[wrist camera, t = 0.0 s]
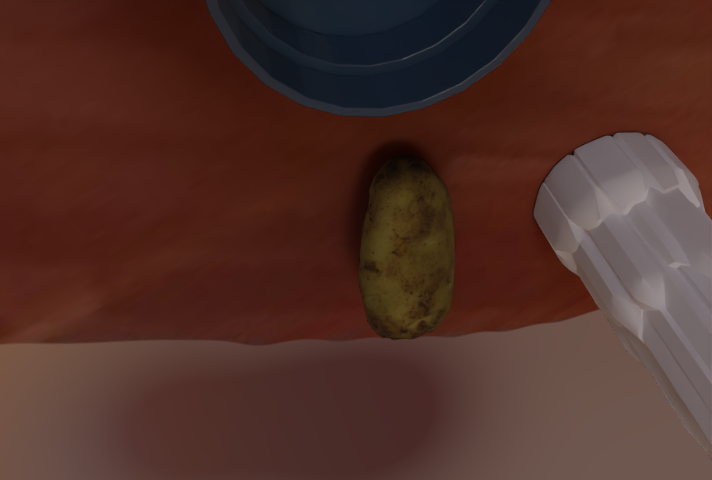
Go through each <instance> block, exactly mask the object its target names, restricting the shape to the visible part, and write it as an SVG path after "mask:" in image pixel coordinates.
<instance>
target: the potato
mask: <svg viewBox="0 0 712 480" xmlns="http://www.w3.org/2000/svg"><path fill="white" fill-rule="evenodd" d="M368 194H369V195H370V199H369V204H368V208H367V213H366V214H365V215H364V217H363V220H362V231H361V238H362V239H361V249H360V257H359V288H360V291H361V294H362V298H363V302H364V308H365V313H366V316H367V321H368V322H369V324H370V326H371V328H372V329H373V330H374V331H375V332H376V333H377V334H378V335H380V336H381V337H383V338H385V337H387V338H391V339H393V340H397V339H415V338H417V337H419V336H421V335H423V334H425V333H429V332H432V331H433V330H435V329H436V328H437V327H438V326H439V325H440V324H441V323H442V322H443V320H444V319H445V317H446V315H447V313H448V311H449V308H450V305H451V301H452V295H453V285H454V281H453V280H454V266H455V248H454V222H453V214H452V207H451V201H450V197H449V193H448V190H447V188H446V186H445V185H444V183H443V181H442V180H441V179H440V178H439V177H438V176H437V175H436V174H435V173H434V171H433V170H432V169H431V168H430V167H429V165H428V164H427V163H426V162H425V161H424V160H423V159H421V158H419V157H417V156H411V155H400V156H396V157H393V158H391V159H389V160H388V161H387V162H386V163H385V164H383V166H382V167H381V168H380V169H379V171H378V172H377V173H376V175H375V177H374V179H373V180H372V183H371V184H370V188H369V191H368Z"/></svg>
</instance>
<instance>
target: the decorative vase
mask: <svg viewBox="0 0 712 480" xmlns="http://www.w3.org/2000/svg"><path fill="white" fill-rule="evenodd" d="M698 186H699V183H698V181H697V179H696V178H695V176H694V175H693V174H692V173H691V172H690V171H689V170H688V169H687V167H686V166H685V165H684V164H683V163H682V162H681V161H680V160H679V159H678V158H677V157H676V155H675V154H674V153H673V152H672V151H671V150H670V149H669V148H668V147H667V146H666V145H665V144H664V143H663V142H662V141H660V140H658V139H657V138H655V137H654V136H652V135H648V134H647V135H645V136H643V135H642V134H641V133H638V132H632V133H616V134H615V135H614V136H613V137H611V136H604V137H601V138H599V139H596V140H594V141H592V142H589V143H587V144H585V145H583V146H581V147H579V148H577V149H575V150H574V156H573V155H567V156H566V157H564V158H563V159H562V160H561V161H560V162H559V163H558V164H556V165H555V166H554V168H553V169H552V170H551V172H550V173H549V174H548V176H547V177H546V178H545V182H543V183H542V185H541V187H540V189H539V192H538V195H537V199H536V203H535V207H534V218H535V219H536V221H537V223H538V225H539V227H540V228H541V230H542V232H543V233H544V235H545V237H546V238H547V240H548V242H549V243H550V245H551V247H552V248H553V250H554V252H555V253H556V255H557V257H558V258H559V260H560V261H561V262H562V264H563V265H564V266H566V267H567V268H568V269H569V270H570V271H571V272H574V273H575V274H576V275H578V276H579V277H580V278H581V280H582V282H583V283H584V285H585V287H586V288H587V290H588V291H589V293H590V295H591V296H592V298H593V299H594V301H595V303H596V304H597V306H598V308H599V309H600V310H602V311H603V313H604V315H605V316H606V318H607V319H608V321H609V322H610V324H611V326H612V328H613V329H614V331H615V332H616V334H617V336H618V337H619V339H620V340H621V342H622V344H623V345H624V347H625V348H626V350H627V352H628V353H630V354H631V355H632V356H633V357H634V358H635V359H636V360H637V361H638V362H639V363H641V364H642V365H643V366H644V367H645V368H646V369H647V370H648V371H649V372H650V373H651V375H652V377H653V378H654V380H655V381H656V383H657V384H658V386H659V388H660V389H661V391H662V392H663V394H664V396H665V397H666V399H667V400H668V402H669V404H670V405H671V407H672V408H673V410H674V411H675V413H676V414H677V416H678V418H679V419H680V421H681V422H682V424H683V425H684V427H685V429H686V430H687V431H688V432H689V433H690V434H691V435H692V436H693V437H694V438H695V439H696V441H697V442H698V443H699V444H700V445H701V446H702V447H703V448H704V449H705V450H706V451H707V453H708V455H709V456H710V458H711V459H712V220H711V219H710V218H709V216H708V215H707V214H706V213H705V209H704V205H703V201H702V196H701V192H700V189H699V188H698Z"/></svg>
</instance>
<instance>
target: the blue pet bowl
mask: <svg viewBox="0 0 712 480" xmlns="http://www.w3.org/2000/svg"><path fill="white" fill-rule="evenodd" d="M205 1H206V4H207V8H208V11H209V14H210V15H211V17H212V19H213V20H214V22H215V24H216V25H217V27H218V29H219V31H220V32H221V34H222V36H223V37H224V39H225V41H226V42H227V44H228V46H229V47H230V49H231V51H232V52H233V53H234V55H235V56H236V57H237V58H238V59H239V60H240V61H241V62H242V63H243V64H244V65H245V66H246V67H247V68H248V69H249V70H251V71H252V72H253V73H254V74H255V75H256V76H257V77H258V78H259V79H260V80H261V81H262V82H263V83H264V84H266V86H268V87H270V88H272V89H274V90H275V91H277V92H279V93H281V94H283V95H284V96H286V97H288V98H290V99H292V100H293V101H295V102H297V103H299V104H300V105H303V106H306V107H310V108H313V109H317V110H321V111H325V112H329V113H333V114H336V115H340V116H370V117H383V116H389V115H394V114H399V113H403V112H408V111H413V110H418V109H422V108H425V107H428V106H430V105H432V104H434V103H437V102H439V101H441V100H444V99H446V98H448V97H450V96H453V95H455V94H457V93H459V92H462V91H463V90H465V89H466V88H468V87H469V86H471V85H472V84H473V83H475V82H476V81H478V80H479V79H480V78H482V77H483V76H485V75H486V74H487V73H489V72H490V71H492V70H493V69H495V68H496V67H497V66H499V64H501V63H502V62H503V61H504V60H505V59H506V58H507V57H508V55H509V54H510V53H511V52H512V51H513V50H514V49H515V48H516V47H517V46H518V45H519V44H520V43H521V42H522V41H523V40H524V39H525V38H526V36H527V35H528V34H529V33H530V32H531V30H533V28H534V27H535V25H536V23H537V22H538V20H539V19H540V17H541V16H542V14H543V12H544V11H545V9H546V8H547V6H548V4H549V3H550V1H551V0H205Z"/></svg>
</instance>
